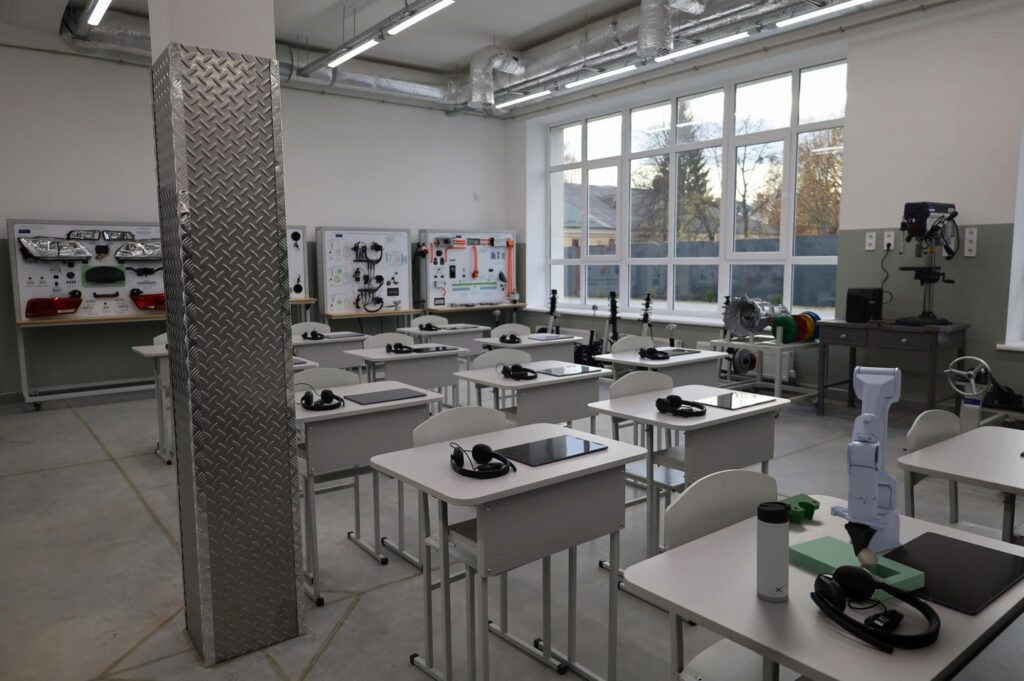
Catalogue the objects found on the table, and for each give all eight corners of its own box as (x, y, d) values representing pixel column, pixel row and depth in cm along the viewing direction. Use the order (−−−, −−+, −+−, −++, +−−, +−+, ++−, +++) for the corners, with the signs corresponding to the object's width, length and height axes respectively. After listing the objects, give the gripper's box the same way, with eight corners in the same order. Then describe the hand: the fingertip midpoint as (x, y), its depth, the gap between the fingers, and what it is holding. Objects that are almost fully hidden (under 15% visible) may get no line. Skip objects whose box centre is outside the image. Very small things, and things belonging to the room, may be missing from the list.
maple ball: (885, 557, 146) (875, 571, 148) (871, 544, 149) (862, 557, 151) (873, 557, 144) (863, 571, 146) (859, 544, 147) (850, 557, 149)
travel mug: (787, 606, 137) (788, 510, 135) (753, 598, 141) (753, 505, 139) (792, 593, 142) (793, 501, 141) (760, 586, 146) (760, 496, 144)
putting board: (786, 559, 160) (786, 546, 159) (828, 547, 166) (828, 535, 165) (880, 601, 138) (880, 587, 138) (924, 586, 144) (924, 572, 144)
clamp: (793, 539, 182) (792, 515, 178) (775, 528, 187) (773, 504, 183) (822, 516, 187) (822, 491, 182) (803, 505, 191) (802, 481, 187)
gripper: (821, 489, 153) (820, 548, 154) (880, 508, 139) (878, 571, 140) (843, 485, 156) (842, 543, 157) (903, 503, 142) (900, 566, 143)
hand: (860, 556), depth 149 cm, fingers closed, pressing on maple ball
